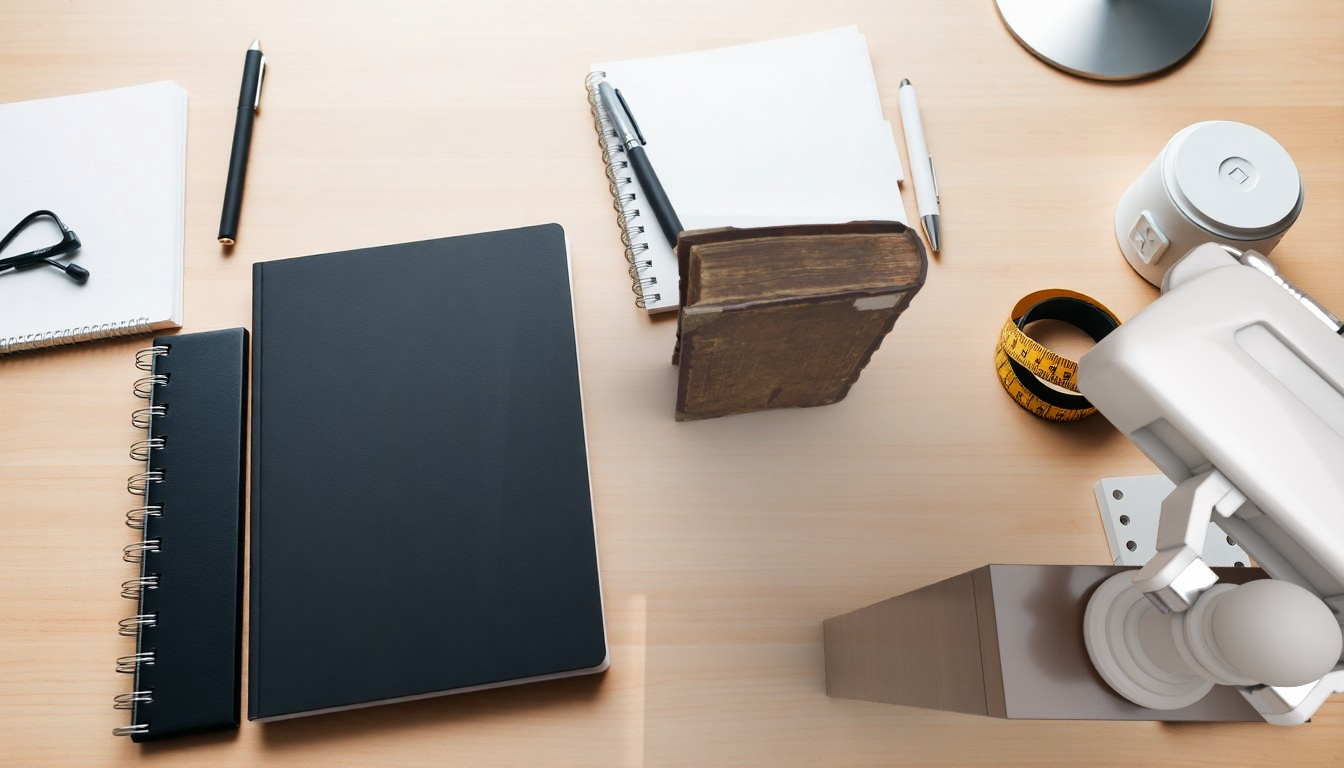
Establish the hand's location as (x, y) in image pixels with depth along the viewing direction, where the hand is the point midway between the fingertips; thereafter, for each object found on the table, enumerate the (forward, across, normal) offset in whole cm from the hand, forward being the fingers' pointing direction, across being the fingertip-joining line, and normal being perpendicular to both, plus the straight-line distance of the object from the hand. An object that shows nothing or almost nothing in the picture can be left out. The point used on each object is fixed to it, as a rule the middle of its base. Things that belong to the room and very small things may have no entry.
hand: (1209, 652), depth 29 cm
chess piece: (-1, 0, +5) cm, 5 cm away
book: (-8, -25, +43) cm, 51 cm away
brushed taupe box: (-1, 0, +43) cm, 43 cm away
